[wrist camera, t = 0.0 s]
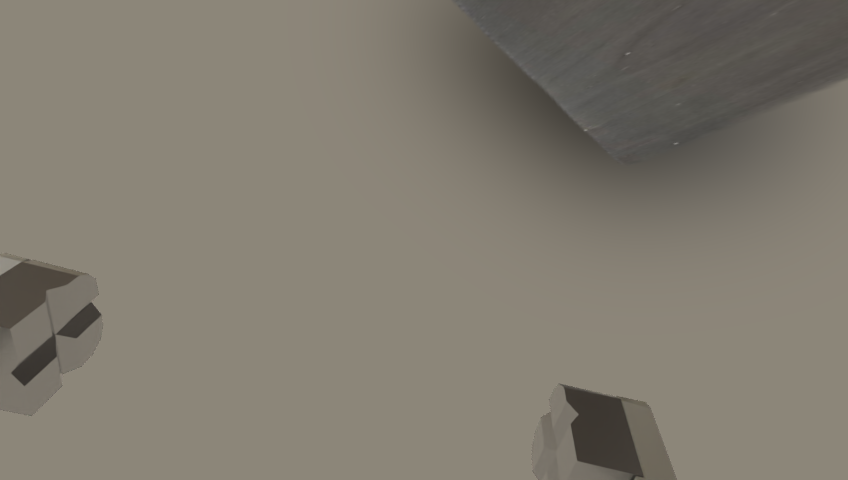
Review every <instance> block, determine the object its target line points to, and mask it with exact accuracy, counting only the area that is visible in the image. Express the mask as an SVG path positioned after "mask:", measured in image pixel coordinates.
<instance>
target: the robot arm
mask: <svg viewBox="0 0 848 480" xmlns="http://www.w3.org/2000/svg"><path fill="white" fill-rule="evenodd" d="M98 295H99V293H98V287H97V282H96V278H94V277H92V276H91V275H89V274H87V273H82V272H79V271H75V270H71V269H67V268H63V267H60V266H55V265H52V264H48V263H44V262H40V261H36V260H29V259H26V258H22V257H18V256H14V255H11V254H7V253H1V254H0V410H4V411H9V412H14V413H19V414H24V415H29V416H32V415H33V414H34V413H35V412H36V411H37V410H38V409H39V408H40V407H41V406H43V404H44V403H46V402H47V400H49V398H50V397H52V396H53V394H54V393H56V391H57V390H59V389H60V388H61V387H62V376H63V374H64V373H66V372H69V371H72V370H74V369H77V368H79V367H81V366H82V365H83V364H84V363H85V362H86V361H87V360H88V359H89V358H90V356H92V355H93V353H94V351H95V349H96V347H97V345H98V343H99V341H100V339H101V335H102V329H103V322H102V315H101V313H100V312H99V311H98V310H97V309H96V307H95V306H94V305H93V304H92V301H93V300H94V299H95V298H96V297H97V296H98ZM549 402H550V409H551V412H550V413H548V414H546V415H544V416H542V417H541V418H540V421H539V423H538V426H537V428H536V431H535V436H534V441H533V445H532V468H533V473H534V474H535V476H536V477H537V478H538V480H677V478H676V475H675V473H674V470H673V467H672V465H671V462H670V459H669V456H668V454H667V451H666V448H665V446H664V443H663V440H662V437H661V435H660V432H659V429H658V426H657V424H656V421H655V418H654V416H653V413H652V410H651V408H650V406H649V405H648V404H647V403H646V402H643V401H638V400H633V399H628V398H623V397H619V396H616V397H615V396H612V395H608V394H603V393H599V392H594V391H590V390H586V389H581V388H577V387H572V386H568V385H563V384H558V385H557V386H556V387H555V388H554V390H553V392H552V394H551V397H550V399H549Z"/></svg>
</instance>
